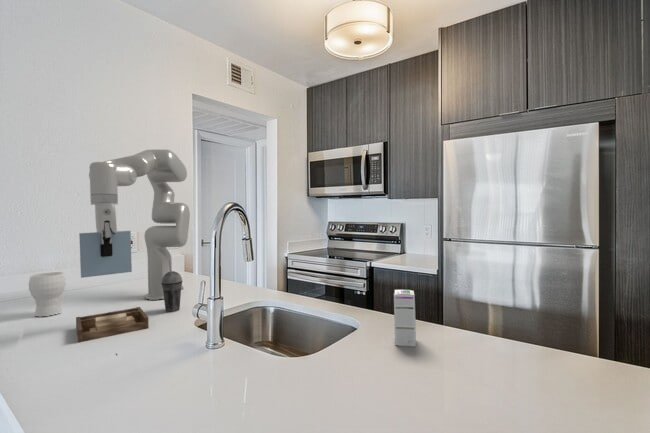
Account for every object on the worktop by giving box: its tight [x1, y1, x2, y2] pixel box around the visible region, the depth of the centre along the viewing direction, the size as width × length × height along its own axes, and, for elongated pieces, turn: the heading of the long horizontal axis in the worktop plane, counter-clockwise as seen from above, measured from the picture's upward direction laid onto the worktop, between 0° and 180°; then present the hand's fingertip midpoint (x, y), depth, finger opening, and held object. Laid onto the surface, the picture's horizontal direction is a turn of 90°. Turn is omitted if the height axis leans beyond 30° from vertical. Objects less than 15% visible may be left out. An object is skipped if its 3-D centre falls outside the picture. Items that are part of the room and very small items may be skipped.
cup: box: [28, 271, 66, 317], centre depth 126 cm, size 11×11×15 cm
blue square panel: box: [79, 230, 133, 279], centre depth 111 cm, size 14×2×14 cm, turn 129°
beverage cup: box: [161, 259, 183, 313], centre depth 125 cm, size 7×7×20 cm
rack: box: [75, 306, 150, 343], centre depth 107 cm, size 18×15×4 cm
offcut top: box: [96, 313, 127, 326], centre depth 104 cm, size 8×4×2 cm, turn 124°
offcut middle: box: [95, 316, 135, 331], centre depth 105 cm, size 10×4×2 cm, turn 131°
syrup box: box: [393, 289, 417, 348], centre depth 95 cm, size 6×6×14 cm
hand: (106, 255), depth 111 cm, fingers closed on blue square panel, 2 cm apart
